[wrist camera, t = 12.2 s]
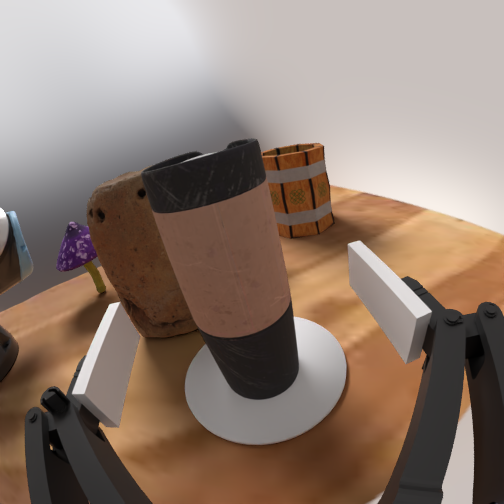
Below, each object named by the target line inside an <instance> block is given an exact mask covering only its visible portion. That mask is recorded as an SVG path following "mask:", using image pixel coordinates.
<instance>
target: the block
mask: <svg viewBox="0 0 504 504" xmlns="http://www.w3.org/2000/svg"><path fill="white" fill-rule="evenodd" d="M152 166H153V165H152ZM149 167H150V166H149ZM146 168H148V167H146ZM146 168H144V169H142V170H140V171H136V172H128V173H125V174H123V175H120V176H118V177H117V178H115V179H113V180H109V181H106V182H104V183H103V184H101V185H99V186H98V187H97V188H96V189H95V190H94V191H93V194H92V197H91V198H90V199H89V200H88V204H87V224H88V227H89V232H90V239H91V241H92V244H93V246H94V249H95V251H96V253H97V256H98V258H99V261H100V263H101V265H102V267H103V268H104V270H105V273H106V275H107V277H108V279H109V280H110V282H111V284H112V285H113V287H114V288H115V290H116V291H117V293H118V295H119V298H120V300H121V302H122V304H123V307H124V309H125V311H126V312H127V314H128V315H129V317H130V319H131V321H132V323H133V324H134V326H135V327H136V329H137V330H138V331H139V333H140V334H141V335H142V336H143V337H162V338H163V337H170V336H174V335H179V334H184V333H188V332H192V331H194V330H196V329H198V327H197V325H196V323H195V321H194V319H193V316H192V314H191V312H190V309H189V307H188V305H187V302H186V300H185V298H184V295H183V293H182V290H181V288H180V285H179V283H178V280H177V278H176V275H175V273H174V270H173V268H172V265H171V262H170V260H169V257H168V254H167V252H166V249H165V246H164V243H163V241H162V238H161V235H160V232H159V229H158V227H157V224H156V221H155V218H154V215H153V212H152V209H151V206H150V203H149V200H148V197H147V194H146V190H145V187H144V184H143V181H142V177H141V172H142V171H143V170H145V169H146Z"/></svg>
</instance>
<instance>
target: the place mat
mask: <svg viewBox="0 0 504 504" xmlns="http://www.w3.org/2000/svg"><path fill="white" fill-rule="evenodd" d="M294 324H295V332H296V340H297V348H298V358H299V372H298V375H297V378H296V380H295V381H294V383H293V384H292V385H291V386H290V387H289V388H288V389H287V390H286V391H284V392H283V393H281V394H280V395H278V396H275V397H272V398H269V399H264V400H252V399H247V398H244V397H242V396H240V395H238V394H237V393H235V392H234V391H233V390H232V389H231V387H230V386H229V384H228V383H227V381H226V379H225V378H224V376H223V374H222V372H221V371H220V369H219V367H218V365H217V363H216V362H215V360H214V358H213V356H212V354H211V352H210V350H209V348H208V347H207V345H206V344H205V345H204V346H203V347H202V348H201V349H200V350H199V352H198V353H197V354H196V356H195V357H194V359H193V360H192V362H191V364H190V366H189V369H188V372H187V375H186V380H185V395H186V400H187V403H188V406H189V408H190V410H191V412H192V413H193V415H194V416H195V417H196V419H197V420H198V421H199V422H200V423H201V424H202V425H203V426H204V427H205V428H206V429H207V430H209V431H210V432H212V433H213V434H215V435H217V436H219V437H221V438H223V439H225V440H228V441H231V442H235V443H240V444H246V445H266V444H274V443H278V442H283V441H286V440H289V439H292V438H294V437H297V436H299V435H301V434H303V433H305V432H307V431H308V430H310V429H311V428H313V427H314V426H316V425H317V424H318V423H320V422H321V421H322V420H323V419H324V418H325V417H326V416H327V415H328V414H329V413H330V412H331V410H332V409H333V408H334V406H335V405H336V403H337V402H338V400H339V398H340V396H341V394H342V391H343V389H344V385H345V380H346V360H345V355H344V352H343V350H342V348H341V346H340V344H339V342H338V341H337V340H336V338H335V337H334V336H333V335H332V334H331V333H330V332H329V331H328V330H326V329H325V328H323V327H322V326H320V325H318V324H316V323H314V322H312V321H309V320H306V319H303V318H299V317H294Z"/></svg>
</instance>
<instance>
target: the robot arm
mask: <svg viewBox="0 0 504 504" xmlns="http://www.w3.org/2000/svg"><path fill="white" fill-rule="evenodd" d="M348 258H349V280H350V286H351V287H352V289H353V290H354V291H355V293H356V294H357V295H358V297H359V298H360V299H361V301H362V302H363V303H364V305H365V306H366V308H367V309H368V310H369V312H370V313H371V314H372V316H373V317H374V319H375V320H376V321H377V323H378V324H379V326H380V327H381V329H382V330H383V331H384V333H385V334H386V336H387V337H388V339H389V340H390V341H391V343H392V344H393V346H394V347H395V349H396V350H397V352H398V353H399V355H400V356H401V358H402V359H403V361H404V362H405V364H407V363H410V362H412V361H414V360H416V359H418V358H420V355H421V352H422V349H423V350H424V351H425V353H426V354H427V355H426V358H425V361H424V364H423V367H422V369H423V374H422V379H421V383H420V388H419V392H418V396H417V400H416V404H415V408H414V412H413V415H412V419H411V422H410V426H409V429H408V432H407V435H406V438H405V441H404V444H403V447H402V450H401V453H400V455H399V458H398V461H397V463H396V466H395V468H394V471H393V473H392V476H391V478H390V480H389V483H388V485H387V487H386V489H385V491H384V493H383V495H382V497H381V499H380V501H379V502H378V504H441V501H442V498H443V491H442V483H443V480H444V476H445V473H446V470H447V466H448V463H449V459H450V456H451V452H452V448H453V444H454V439H455V435H456V430H457V424H458V419H459V413H460V406H461V399H462V390H463V380H464V367H465V369H466V375H467V381H468V387H469V394H470V401H471V410H472V419H473V432H474V433H473V434H474V483H473V502H472V503H473V504H504V316H503V314H502V311H501V310H500V308H499V307H498V306H497V305H496V304H494V303H491V302H484V303H481V304H480V305H479V307H478V309H477V312H476V313H472V314H467V315H462V313H460V312H459V311H457V310H453V309H445V308H444V307H443V306H442V305H441V304H440V303H439V302H438V301H437V300H436V299H435V298H434V297H433V296H432V295H431V294H430V293H428V291H427V290H426V289H425V288H423V286H422V285H421V284H420V283H419V282H418V281H417V280H414V279H412V278H410V277H408V276H407V277H404V278H402V279H400V278H399V277H398V276H397V275H396V274H395V273H394V272H393V271H392V270H391V269H390V268H389V267H388V266H387V265H386V264H385V263H384V262H383V261H381V260H380V259H379V258H378V257H377V256H376V255H375V254H374V253H373V252H372V251H371V250H370V249H369V248H368V247H366V246H365V245H364V244H363V243H362V242H361V241H360V240H359V241H356V242H352V243H349V244H348ZM32 271H33V263H32V260H31V258H30V255H29V252H28V249H27V247H26V244H25V241H24V238H23V235H22V232H21V229H20V226H19V222H18V219H17V216H16V213H15V212H14V211H11V212H7V213H4V211H3V210H2V209H1V208H0V295H1V294H3V293H4V292H6V291H7V290H8V289H10V288H11V287H13V286H14V285H16V284H17V283H21V282H22V281H23V279H24V278H26V277H27V276H28V275H30V274H31V273H32ZM139 339H140V335H139V334H138V332H137V330H136V329H135V327H134V325H133V324H132V322H131V320H130V318H129V317H128V315H127V313H126V311H125V310H124V308H123V306H122V304H121V302H117V303H113V304H109V307H108V309H107V311H106V313H105V315H104V317H103V319H102V321H101V323H100V326H99V328H98V330H97V332H96V335H95V337H94V339H93V341H92V344H91V346H90V348H89V351H88V353H87V355H86V356H84V357H83V358H82V359H81V361H80V362H79V364H78V366H77V369H76V372H75V374H74V378H73V379H72V381H71V384H70V386H69V389H68V392H67V395H66V396H65V394H64V393H63V392H62V391H61V390H60V389H59V388H58V387H55V386H54V387H50V388H48V389H47V390H46V391H45V392H44V393H43V395H42V397H41V400H40V401H41V405H42V406H43V407H44V408H46V409H47V410H48V412H45V413H44V412H43V411H42V410H41V409H40V408H38V407H33V408H32V409H30V410H29V411H28V412H27V414H26V417H25V455H26V469H27V478H28V486H29V493H30V499H31V504H89V502H90V504H153V503H152V502H151V501H150V500H149V498H148V497H147V496H146V495H145V493H144V492H143V491H142V490H141V488H140V487H139V486H138V484H137V483H136V482H135V480H134V479H133V478H132V476H131V475H130V473H129V472H128V471H127V469H126V468H125V466H124V465H123V463H122V462H121V460H120V459H119V457H118V456H117V454H116V452H115V451H114V449H113V448H112V446H111V444H110V443H109V441H108V439H107V438H106V436H105V434H104V432H103V431H102V430H101V428H100V427H98V426H99V422H101V423H102V424H104V425H105V426H106V427H119V425H120V420H121V415H122V410H123V405H124V400H125V396H126V391H127V387H128V382H129V378H130V374H131V370H132V366H133V362H134V358H135V354H136V350H137V347H138V343H139ZM17 353H18V343H17V342H16V340H15V339H14V337H13V336H12V335H11V334H10V333H9V332H8V331H7V330H6V329H4V328H3V327H2V326H1V325H0V381H1V379H2V378H3V377H4V376H5V375H6V374H7V372H8V371H9V370H10V368H11V366H12V365H13V363H14V361H15V359H16V356H17ZM50 445H51V446H52V447H53V451H52V450H51V449H50ZM88 501H89V502H88Z"/></svg>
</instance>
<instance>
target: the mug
mask: <svg viewBox="0 0 504 504" xmlns="http://www.w3.org/2000/svg"><path fill="white" fill-rule="evenodd" d="M261 154H262V159H263V163H264V168H265V172H266V177H267V181H268V186H269V190H270V195H271V199H272V204H273V208H274V213H275V218H276V223H277V227H278V232H279V236H283V237H287V238H291V239H292V238H298V237H304V236H310V235H316V234H320V233H321V232H323V231H324V230H326V229H327V228H328V227H330V226H331V225H333V224H334V223H335V222H334V218H333V214H332V208H331V200H330V184H329V180H328V176H327V172H326V166H325V160H324V146H323V145H321V144H320V143H313V144H297V145H290V146H285V147H279V148H274V149H271V150H267V151H264V152H261Z"/></svg>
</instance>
